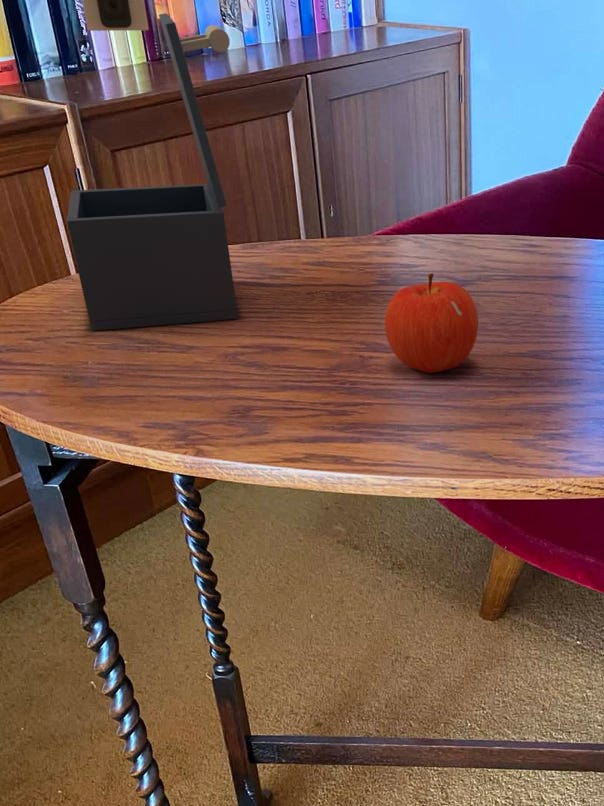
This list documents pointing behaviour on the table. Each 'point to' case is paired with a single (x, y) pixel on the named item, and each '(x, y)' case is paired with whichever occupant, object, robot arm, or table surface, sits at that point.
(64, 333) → the table surface
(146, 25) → the block
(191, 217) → the chest
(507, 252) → the table surface
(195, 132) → the lid
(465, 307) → the apple
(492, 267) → the table surface
